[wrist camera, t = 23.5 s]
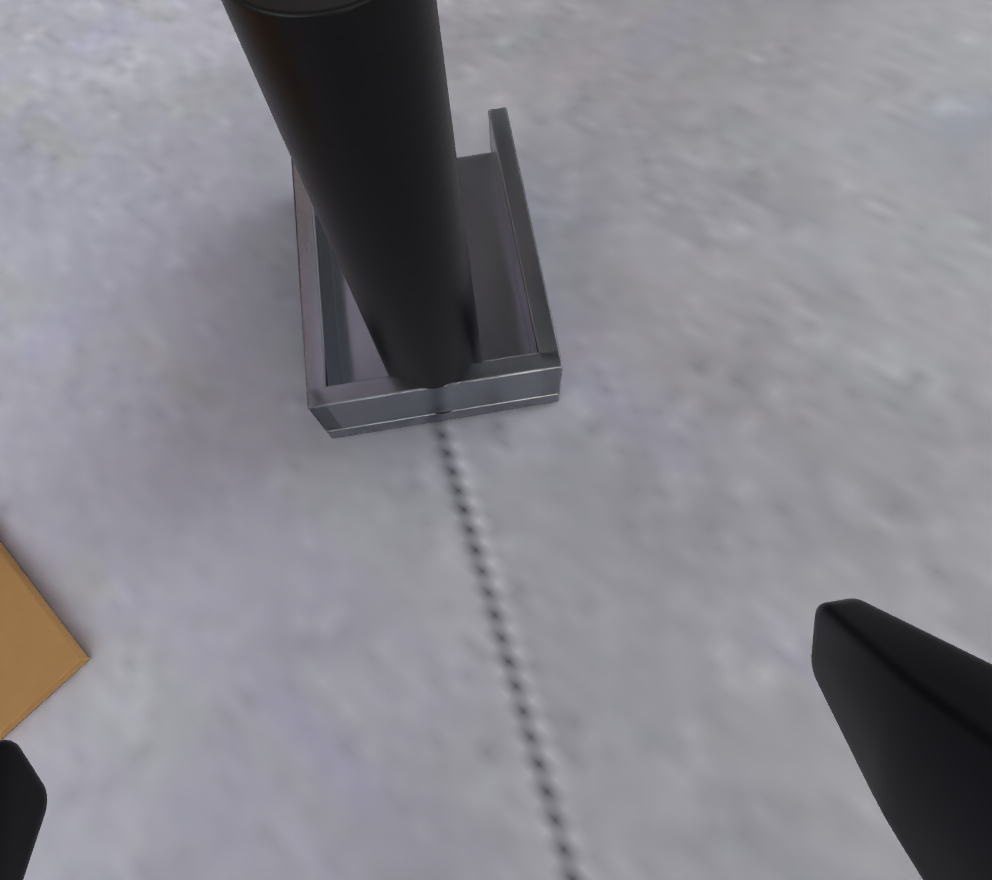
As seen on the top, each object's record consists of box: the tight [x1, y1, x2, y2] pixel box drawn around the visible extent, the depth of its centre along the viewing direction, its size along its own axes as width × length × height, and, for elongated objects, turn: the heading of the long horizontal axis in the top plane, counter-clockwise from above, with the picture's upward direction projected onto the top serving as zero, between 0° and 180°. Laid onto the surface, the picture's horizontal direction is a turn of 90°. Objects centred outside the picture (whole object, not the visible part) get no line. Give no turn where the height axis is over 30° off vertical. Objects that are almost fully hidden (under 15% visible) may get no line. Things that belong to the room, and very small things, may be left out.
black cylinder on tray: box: [221, 0, 563, 438], centre depth 15 cm, size 9×7×13 cm
